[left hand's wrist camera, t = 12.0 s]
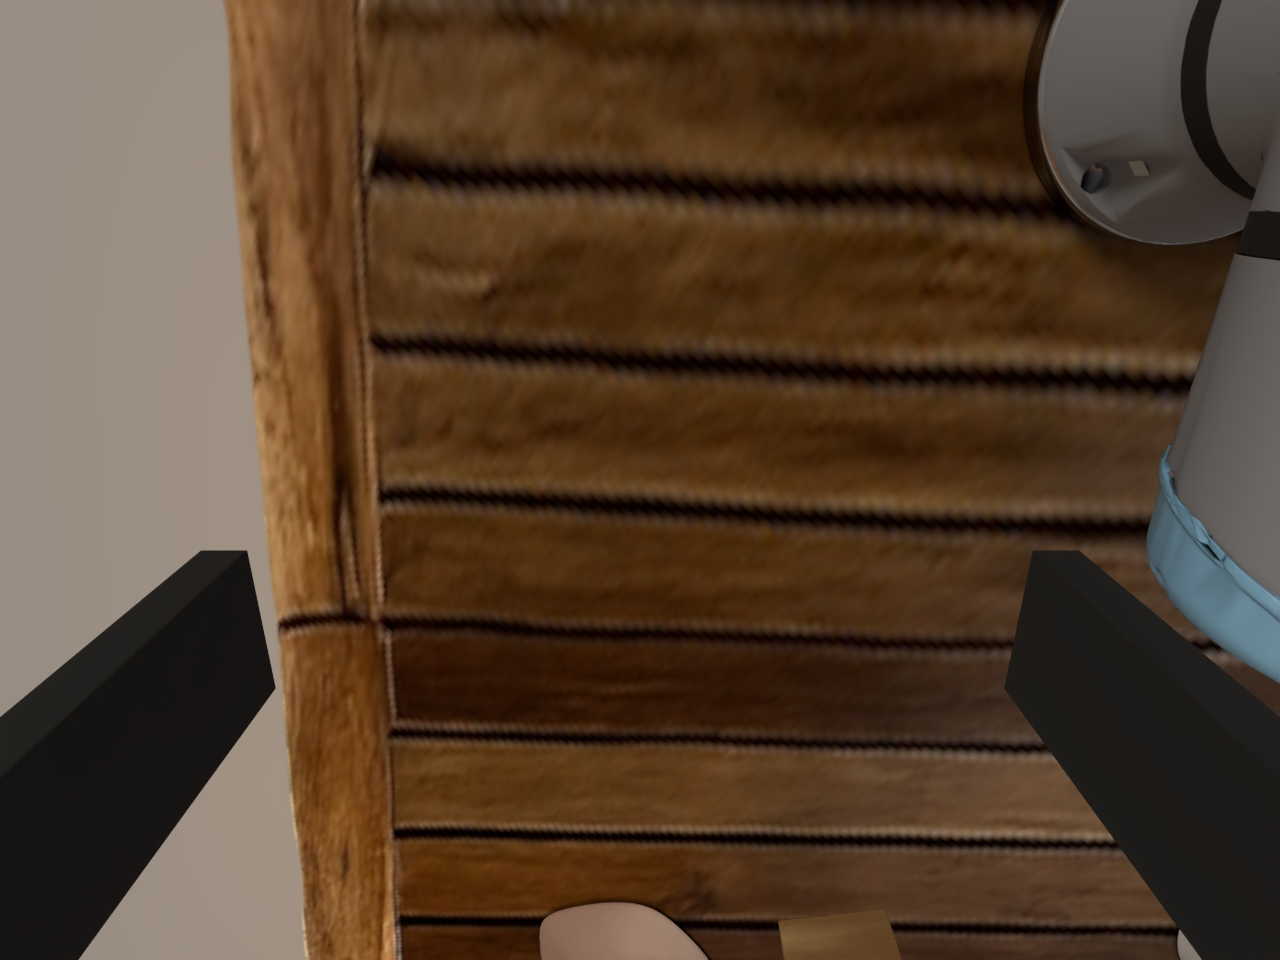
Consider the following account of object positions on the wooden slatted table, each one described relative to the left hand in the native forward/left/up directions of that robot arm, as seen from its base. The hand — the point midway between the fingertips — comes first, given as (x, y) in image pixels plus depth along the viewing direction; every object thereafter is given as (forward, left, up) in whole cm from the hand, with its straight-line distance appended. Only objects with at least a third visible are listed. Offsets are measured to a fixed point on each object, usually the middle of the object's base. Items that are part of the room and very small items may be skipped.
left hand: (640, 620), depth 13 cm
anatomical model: (+1, +47, -29) cm, 55 cm away
